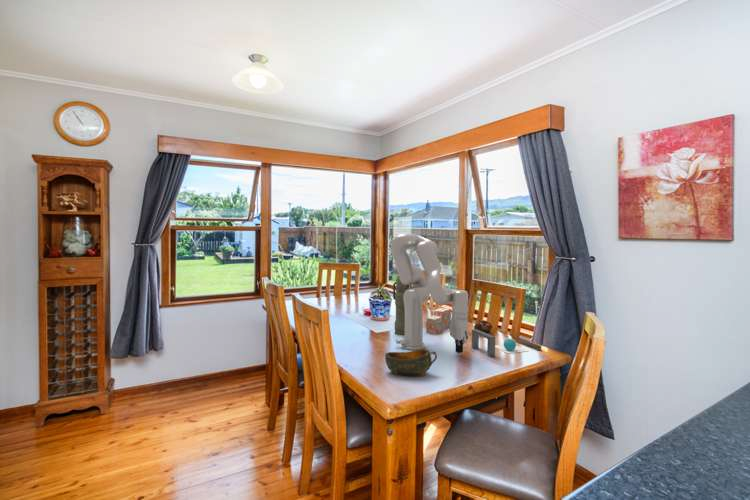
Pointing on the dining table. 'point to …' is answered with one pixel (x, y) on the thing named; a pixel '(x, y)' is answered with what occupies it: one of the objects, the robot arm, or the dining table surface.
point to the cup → (409, 362)
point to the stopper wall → (528, 344)
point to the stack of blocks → (438, 321)
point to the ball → (509, 344)
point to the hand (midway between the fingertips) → (459, 352)
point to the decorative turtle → (483, 326)
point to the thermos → (399, 306)
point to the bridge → (490, 342)
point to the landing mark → (517, 349)
